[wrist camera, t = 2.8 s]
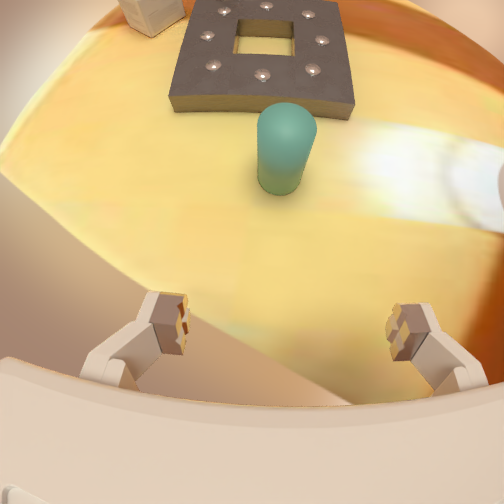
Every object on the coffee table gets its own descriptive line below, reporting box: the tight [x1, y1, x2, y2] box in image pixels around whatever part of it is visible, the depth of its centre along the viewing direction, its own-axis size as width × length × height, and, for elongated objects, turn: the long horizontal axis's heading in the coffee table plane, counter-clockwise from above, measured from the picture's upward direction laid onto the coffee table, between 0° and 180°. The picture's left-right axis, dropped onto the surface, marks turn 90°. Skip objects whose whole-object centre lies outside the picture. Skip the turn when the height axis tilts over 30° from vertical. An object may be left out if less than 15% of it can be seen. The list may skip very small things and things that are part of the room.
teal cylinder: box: [257, 103, 317, 195], centre depth 24 cm, size 4×4×9 cm
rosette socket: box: [168, 0, 355, 120], centre depth 29 cm, size 18×18×3 cm
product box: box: [118, 0, 185, 38], centre depth 29 cm, size 6×6×7 cm
